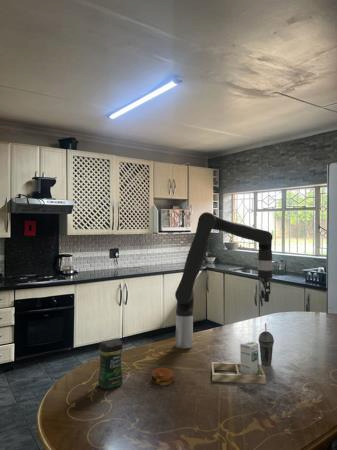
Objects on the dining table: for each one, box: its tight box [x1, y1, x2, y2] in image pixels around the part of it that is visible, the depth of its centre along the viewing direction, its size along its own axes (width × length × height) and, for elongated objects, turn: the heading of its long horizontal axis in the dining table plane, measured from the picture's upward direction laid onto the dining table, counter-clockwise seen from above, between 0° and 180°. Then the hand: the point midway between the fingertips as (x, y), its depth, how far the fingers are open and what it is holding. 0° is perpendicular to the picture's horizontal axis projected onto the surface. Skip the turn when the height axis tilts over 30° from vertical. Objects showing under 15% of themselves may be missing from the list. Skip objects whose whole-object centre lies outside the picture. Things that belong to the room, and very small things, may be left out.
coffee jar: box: [97, 337, 124, 390], centre depth 143 cm, size 10×8×19 cm
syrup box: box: [239, 340, 260, 375], centre depth 151 cm, size 6×6×14 cm
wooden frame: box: [211, 361, 267, 384], centre depth 152 cm, size 22×13×3 cm, turn 84°
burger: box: [150, 367, 175, 387], centre depth 147 cm, size 10×9×5 cm
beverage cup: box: [257, 322, 275, 367], centre depth 164 cm, size 7×7×20 cm
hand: (264, 299), depth 181 cm, fingers open, 8 cm apart
